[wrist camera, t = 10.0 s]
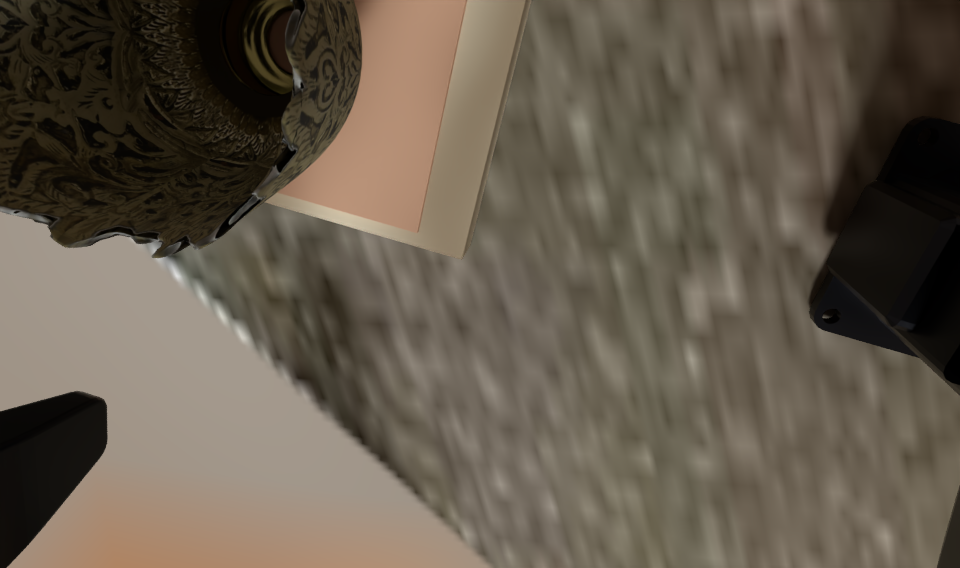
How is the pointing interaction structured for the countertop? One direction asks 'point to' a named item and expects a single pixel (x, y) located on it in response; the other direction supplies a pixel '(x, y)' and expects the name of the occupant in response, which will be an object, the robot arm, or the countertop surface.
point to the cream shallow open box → (415, 121)
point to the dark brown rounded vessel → (165, 111)
